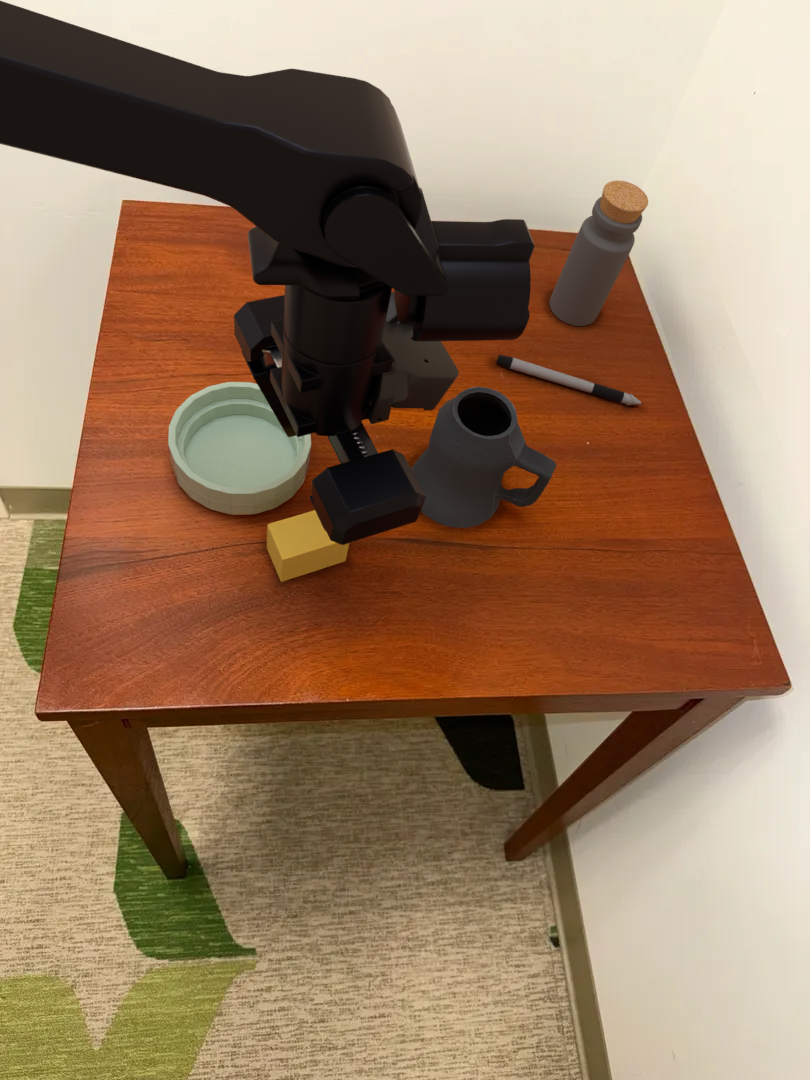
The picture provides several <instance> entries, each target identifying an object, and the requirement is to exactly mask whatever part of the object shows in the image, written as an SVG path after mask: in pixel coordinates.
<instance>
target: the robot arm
mask: <svg viewBox="0 0 810 1080" xmlns="http://www.w3.org/2000/svg"><path fill="white" fill-rule="evenodd" d="M0 145H3V146H7V147H11V148H14V149H19V150H21V151H22V150H23V151H26V152H31V153H34V154H39V155H43V156H46V157H50V158H53V159H54V158H55V159H58V160H62V161H66V162H70V163H74V164H78V165H83V166H85V167H90V168H93V169H98V170H101V171H105V172H109V173H113V174H117V175H122V176H126V177H129V178H134V179H137V180H140V181H144V182H149V183H152V184H157V185H161V186H164V187H168V188H172V189H177V190H179V191H184V192H188V193H191V194H196V195H200V196H203V197H206V198H209V199H211V200H213V201H217V202H218V203H221V204H223V205H226V206H228V207H230V208H231V209H233V210H234V211H236V212H237V213H239V214H240V215H241V216H242V217H244V218H245V219H246V220H247V221H249V222H250V223H252V224H253V226H254V227H252V228H250V229H249V230H248V232H247V241H248V242H247V243H248V249H249V250H248V251H249V258H250V266H251V273H252V280H253V282H254V283H255V284H256V285H258V286H284V294H281V295H276V296H272V297H267V298H266V297H265V298H262V299H256V300H252V301H251V300H250V301H246V302H245V303H244V304H243V305H242V306H241V307H240V308H239V309H238V310H237V311H236V312H235V313H233V325H234V326H233V327H234V328H233V329H234V330H233V331H234V337H235V339H236V341H237V343H238V345H239V347H240V349H241V354H242V356H243V359H244V360H245V363H246V364H247V367H248V369H249V371H250V373H251V375H252V377H253V380H254V381H255V384H257V385H258V386H259V388H260V390H261V392H262V393H263V395H264V397H265V398H266V400H267V402H268V404H269V405H270V407H271V409H272V411H273V412H274V414H275V416H276V418H277V419H278V421H279V423H280V425H281V426H282V428H283V430H284V432H285V433H286V435H287V436H288V437H292V436H296V435H297V437H300V436H304V435H308V434H311V435H312V434H315V435H317V436H321V437H327V439H328V441H329V443H330V445H331V447H332V449H333V451H334V453H335V455H336V458H337V459H338V461H339V463H338V464H335V465H332V466H327V467H326V468H325V469H324V470H322V471H321V472H320V473H319V474H318V475H316V476H315V477H314V478H313V479H312V480H311V485H310V492H311V495H309V496H308V497H309V501H310V503H311V505H312V507H313V508H314V510H315V511H316V513H317V515H318V517H319V520H320V522H321V524H322V526H323V528H324V530H325V531H326V532H327V534H328V536H329V538H330V540H331V541H333V542H336V543H338V544H341V545H345V544H348V543H349V544H350V543H353V542H357V541H360V540H363V539H367V538H370V537H372V536H376V535H379V534H382V533H385V532H388V531H392V530H394V529H398V528H401V527H404V526H407V525H410V524H414V523H417V522H418V519H419V517H420V515H421V513H422V511H421V509H422V506H423V504H424V501H425V498H426V495H425V493H424V492H423V490H422V488H421V486H420V484H419V482H418V480H417V479H416V477H415V475H414V473H413V471H412V467H411V466H410V464H409V462H408V460H407V458H406V456H405V454H403V453H402V452H400V451H397V450H395V449H393V448H392V449H389V450H385V451H381V452H378V450H377V448H376V446H375V444H374V442H373V440H372V439H371V437H370V435H369V433H368V430H367V429H366V427H365V425H364V424H363V421H365V420H368V421H369V423H370V425H374V424H378V423H382V422H386V421H388V420H389V419H390V415H391V412H392V411H391V410H392V408H393V409H423V411H433V410H435V409H436V407H437V406H438V405H439V403H440V402H441V400H442V399H443V398H444V396H445V395H446V393H447V392H448V390H449V389H450V388H451V386H452V385H453V383H454V382H455V381H456V379H457V378H458V377H459V369H458V367H457V365H456V364H455V362H454V360H453V358H452V357H451V356H450V354H449V353H448V350H447V349H446V347H445V345H444V344H443V343H442V342H473V341H474V342H475V341H476V342H477V341H514V340H517V339H519V338H520V337H521V336H522V335H523V333H524V331H525V329H526V328H527V326H528V323H529V320H530V316H531V315H530V314H531V313H530V309H529V306H530V299H531V298H530V297H531V285H532V284H531V283H532V282H531V281H532V280H531V275H532V274H531V264H530V260H531V258H532V256H533V252H534V250H535V246H536V245H535V243H534V240H533V238H532V235H531V232H530V230H529V226H528V225H527V221H525V219H521V218H520V219H519V218H517V219H516V218H515V219H513V218H505V219H503V218H501V219H498V220H492V221H459V220H457V221H456V220H453V221H452V220H432V219H431V216H430V212H429V209H428V205H427V201H426V199H425V195H424V192H423V188H421V187H420V185H419V182H418V178H417V173H416V172H415V168H414V164H413V161H412V158H411V154H410V150H409V148H408V144H407V140H406V137H405V133H404V131H403V127H402V123H401V120H400V118H399V116H398V114H397V111H396V108H395V106H394V105H393V104H392V101H391V99H390V97H388V96H387V94H385V92H384V91H383V90H382V89H381V88H379V87H377V86H375V85H373V84H372V83H370V82H369V81H366V80H363V79H359V78H355V77H350V76H342V75H335V74H331V73H323V72H317V71H310V70H306V69H305V70H304V69H299V68H286V69H280V70H275V71H269V72H264V73H258V74H253V75H252V74H251V75H242V74H236V73H235V74H234V73H228V72H223V71H217V70H214V69H210V68H207V67H204V66H201V65H198V64H195V63H192V62H189V61H186V60H183V59H181V58H177V57H174V56H170V55H168V54H165V53H162V52H158V51H156V50H152V49H150V48H146V47H143V46H140V45H137V44H134V43H132V42H128V41H126V40H122V39H119V38H116V37H113V36H110V35H107V34H103V33H100V32H98V31H95V30H91V29H88V28H85V27H82V26H79V25H75V24H74V23H71V22H67V21H64V20H61V19H58V18H55V17H53V16H52V17H51V16H49V15H45V14H43V13H40V12H36V11H33V10H31V9H28V8H25V7H21V6H18V5H15V4H13V3H9V2H6V1H2V0H0ZM392 290H393V291H392Z"/></svg>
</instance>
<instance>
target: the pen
mask: <svg viewBox="0 0 810 1080" xmlns="http://www.w3.org/2000/svg"><path fill="white" fill-rule="evenodd" d="M496 364H497V365H500V366H502V367H504V368H507V369H509V370H513V371H515V372H516V371H517V372H519V373H522V374H526V375H529V376H533V377H536V378H539V379H543V380H546V381H549V382H552V383H554V384H559V385H563V386H566V387H569V388H572V389H575V390H579V391H582V392H586V393H588V394H590V395H591V394H592V395H594V396H598V397H601V398H604V399H607V400H609V401H614V402H617V403H620V404H624V405H626V406H630V405H631V406H632V405H633V406H634V405H635V406H636V405H643V403H642V402H641V401H642V400H640V399H638V398H637V397H635V395H633V393H627V392H625V391H621V390H618V389H615V388H611V387H609V386H606V385H602V384H599V383H595V382H592V381H590V380H586V379H582V378H580V377H576V376H573V375H570V374H567V373H564V372H560V371H556V370H554V369H552V368H551V369H550V368H547V367H544V366H542V365H538V364H535V363H532V362H528V361H525V360H523V359H520V358H516V357H513V356H508V355H504V354H503V355H502V354H498V356H497V359H496Z"/></svg>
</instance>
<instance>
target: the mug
mask: <svg viewBox="0 0 810 1080" xmlns="http://www.w3.org/2000/svg"><path fill="white" fill-rule="evenodd" d="M517 413H518V412H517V409H516V408H515V406H514V404H513V403H512V401H511V400H510V399H509V398H508V397H507V396H506V395H504V394H503V393H501V392H499V391H498V390H496V389H493V388H490V387H487V386H486V387H484V386H474V387H469V388H466V389H465V390H462V391H460V392H459V393H457V395H456V396H455V397H453V398H451V399H449V400H447V401H446V402H444V404H443V405H442V406H441V407H440V408H439V410H438V412H437V415H436V417H435V420H434V421H435V422H434V424H433V428H432V430H431V434H430V437H429V441H428V447H427V448H426V449H425V450H424V452H423V453H422V454H421V455H420V456H419V457H418V458H417V460H416V461H415V462H414V464H413V465H412V467H411V469H412V471H413V473H414V475H415V477H416V479H417V480H418V482H419V484H420V486H421V488H422V490H423V492H424V493H425V495H426V498H425V501H424V504H423V506H422V509H421V513H422V515H424V516H426V517H428V518H429V519H430V520H432V521H434V522H435V523H437V524H439V525H443V526H446V527H449V528H457V529H458V528H459V529H461V528H462V529H467V528H472V527H476V526H480V525H482V524H483V523H484V522H486V521H488V520H490V519H491V518H492V517H493V515H494V514H495V513H496V512H497V510H498V509H499V506H500V502H501V501H502V500H503V501H505V502H508V503H510V504H512V505H515V506H517V507H520V508H524V507H528V506H532V505H534V504H535V503H536V502H537V501H538V499H539V497H540V496H541V495H542V494H543V492H544V491H545V489H546V488H547V486H548V484H549V483H550V481H551V480H552V477H553V474H554V472H555V470H556V468H557V463H556V461H554V459H552V458H550V457H548V456H547V455H546V454H544V453H543V452H540V451H539V450H536V449H533V448H532V447H530V446H528V445H527V442H526V439H525V437H524V434H523V432H522V429H521V427H520V424H519V422H518V421H519V420H518V414H517ZM513 467H517V468H519V469H522V470H524V471H526V472H529V473H530V474H533V475H536V476H537V477H538V478H537V479H536V480H535V482H534V484H533V485H531V486H529V487H514V488H509V489H507V488H504V487H503V483H502V481H503V478H504V476H505V473H506V472H507V471H508V470H510V469H511V468H513Z"/></svg>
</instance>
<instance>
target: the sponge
mask: <svg viewBox="0 0 810 1080" xmlns="http://www.w3.org/2000/svg"><path fill="white" fill-rule="evenodd" d="M349 546H350V543H348V544H345V545H341V544H338V543H336V542H333V541H331V540H330V538H329V536H328V534H327V532H326V531H325V530H324V528H323V526H322V524H321V522H320V520H319V517H318V515H317V513H316V511H315V509H314V510H311V511H308V512H303V513H301V514H297V515H294V516H292V517H287V518H284V519H280V520H276V521H273V522H270V523H267V525H266V550H267V551H268V554H269V556H270V559H271V561H272V564H273V567H274V569H275V571H276V574H277V576H278V578H279V581H280V582H281V583H283V582H286V581H289V580H292V579H295V578H298V577H302V576H305V575H308V574H310V573H313V572H316V571H319V570H322V569H326V568H329V567H332V566H335V565H338V564H341V563H345V562H346V561H347V555H348V551H349Z"/></svg>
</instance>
